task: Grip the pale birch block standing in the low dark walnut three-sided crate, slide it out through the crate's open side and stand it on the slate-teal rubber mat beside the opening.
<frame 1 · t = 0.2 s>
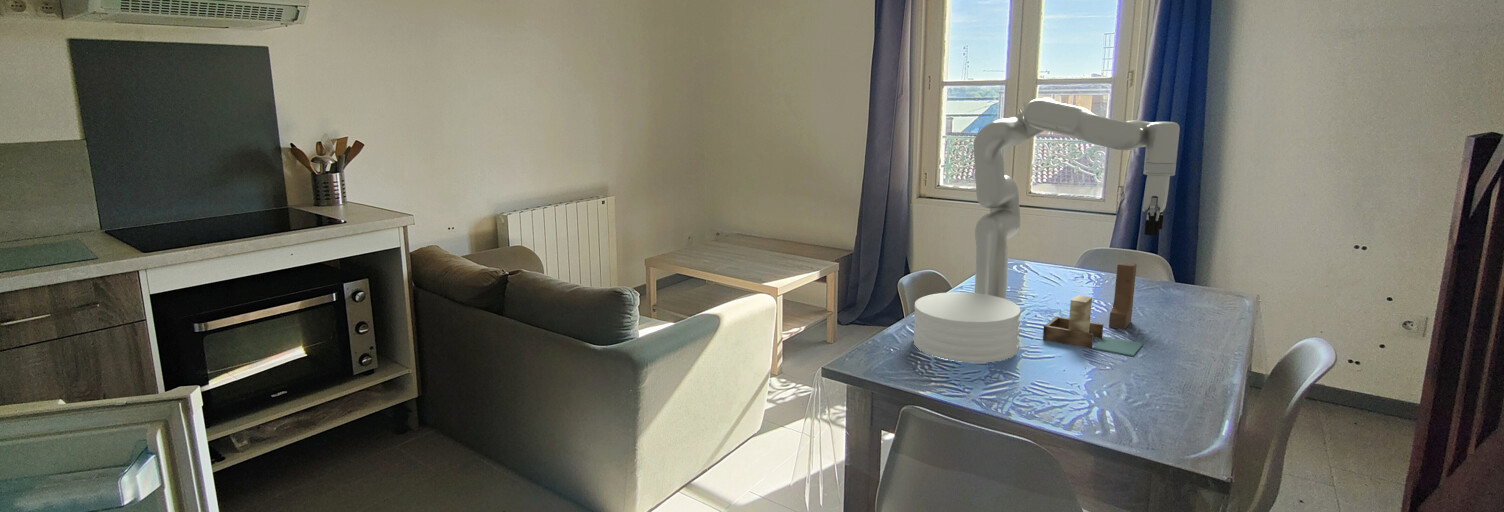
hand: (1153, 231, 211), 31 cm above the table, fingers open, 9 cm apart
mat: (1118, 346, 212), on the table
birch block: (1079, 319, 217), in the crate
plate stack: (964, 346, 216), on the table
crate: (1078, 339, 219), on the table
wooden block: (1119, 324, 231), on the table
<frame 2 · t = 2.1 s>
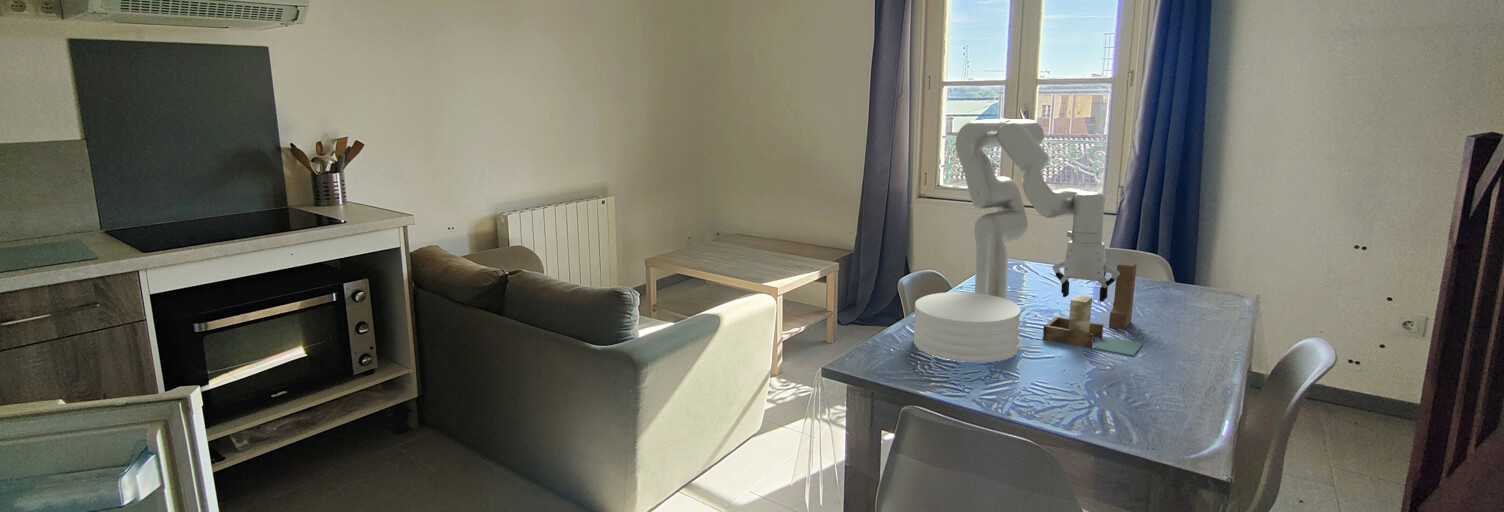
hand: (1083, 298, 215), 12 cm above the table, fingers open, 9 cm apart
nothing on the table moved.
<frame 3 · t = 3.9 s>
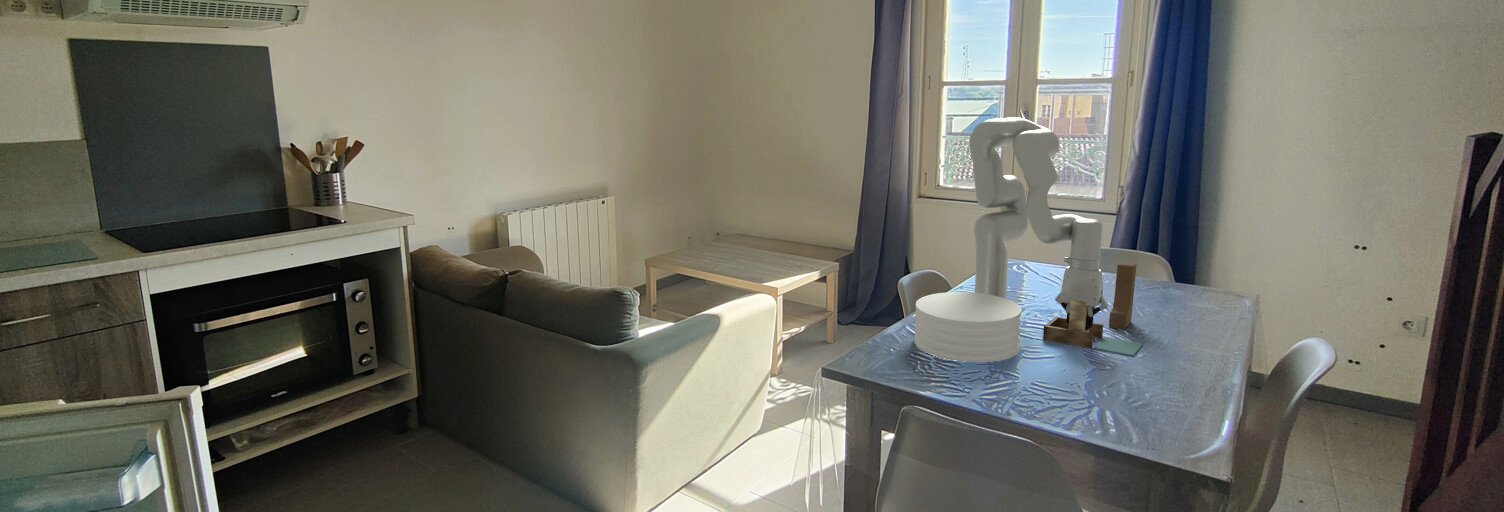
hand: (1079, 326, 218), 4 cm above the table, fingers closed on birch block, 4 cm apart
birch block: (1079, 319, 217), in the crate, touching gripper
everything else where it was.
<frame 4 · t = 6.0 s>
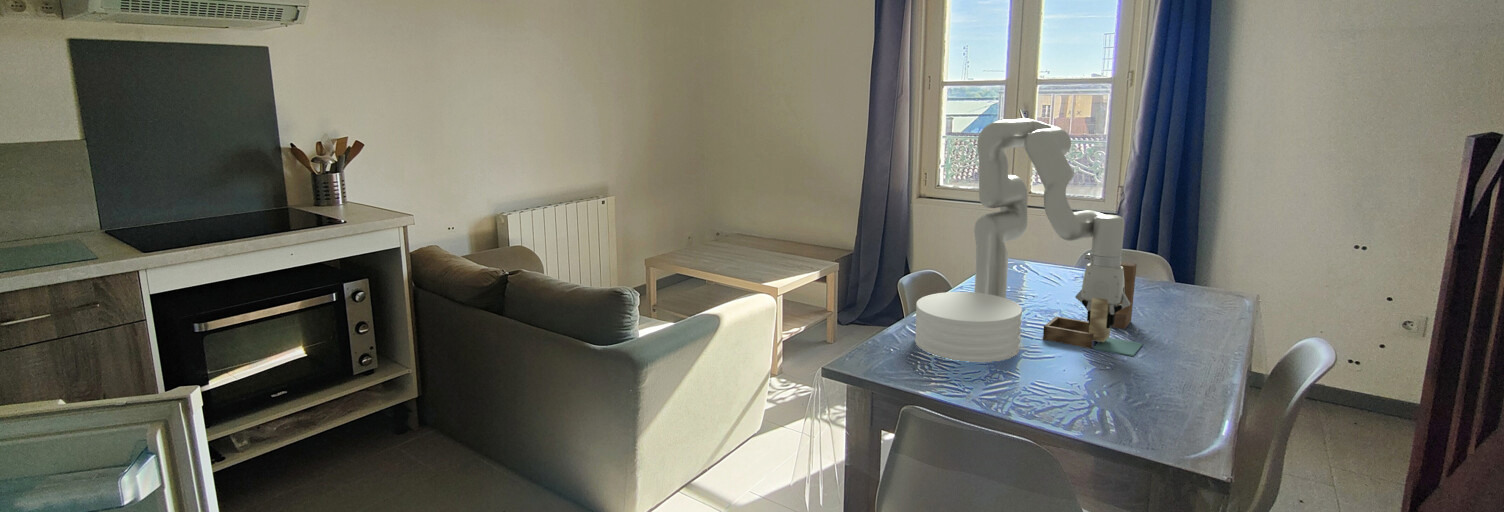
hand: (1100, 324, 214), 5 cm above the table, fingers closed on birch block, 4 cm apart
birch block: (1100, 317, 214), point 8 cm above the table, touching gripper
everything else where it was.
when the fingers open (5 cm above the table, at t = 8.2 s): birch block stays where it is, resting on mat.
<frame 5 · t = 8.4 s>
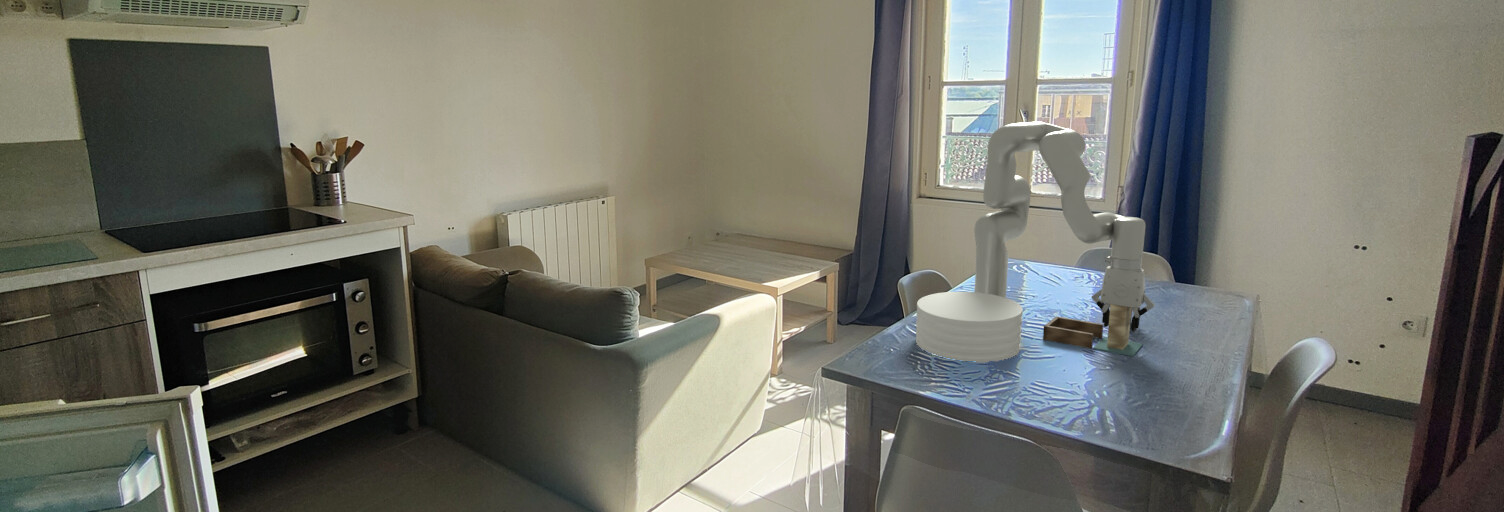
hand: (1119, 327, 211), 6 cm above the table, fingers open, 6 cm apart
birch block: (1119, 324, 211), on the mat
everything else where it was.
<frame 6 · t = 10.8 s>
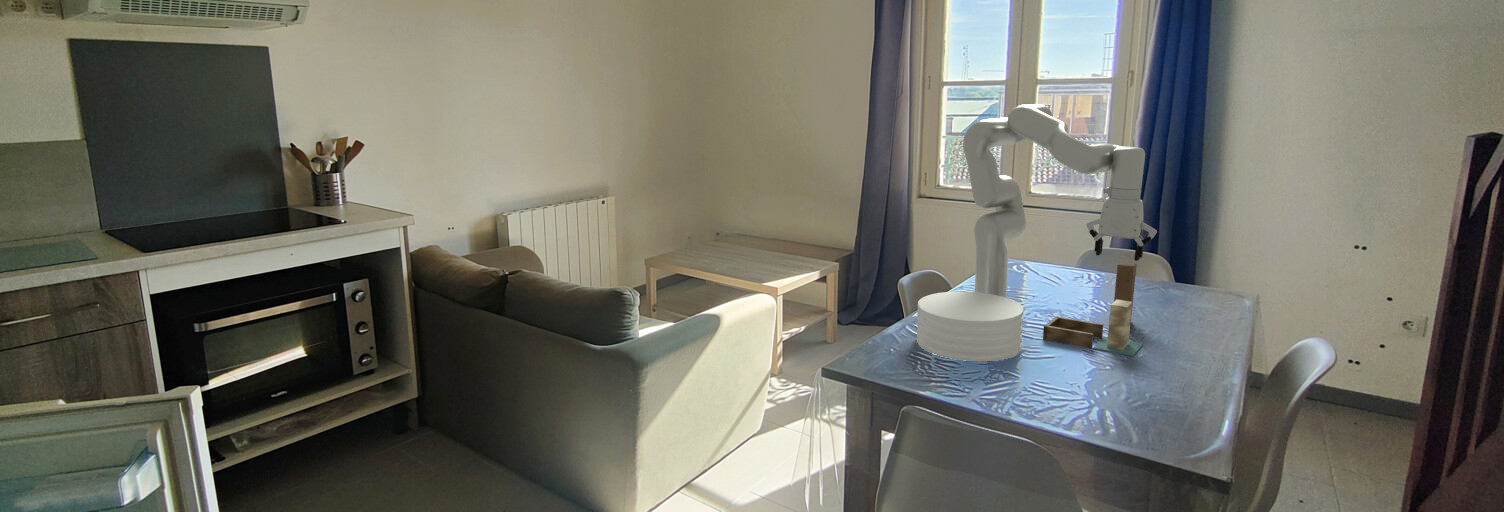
hand: (1117, 257, 209), 25 cm above the table, fingers open, 9 cm apart
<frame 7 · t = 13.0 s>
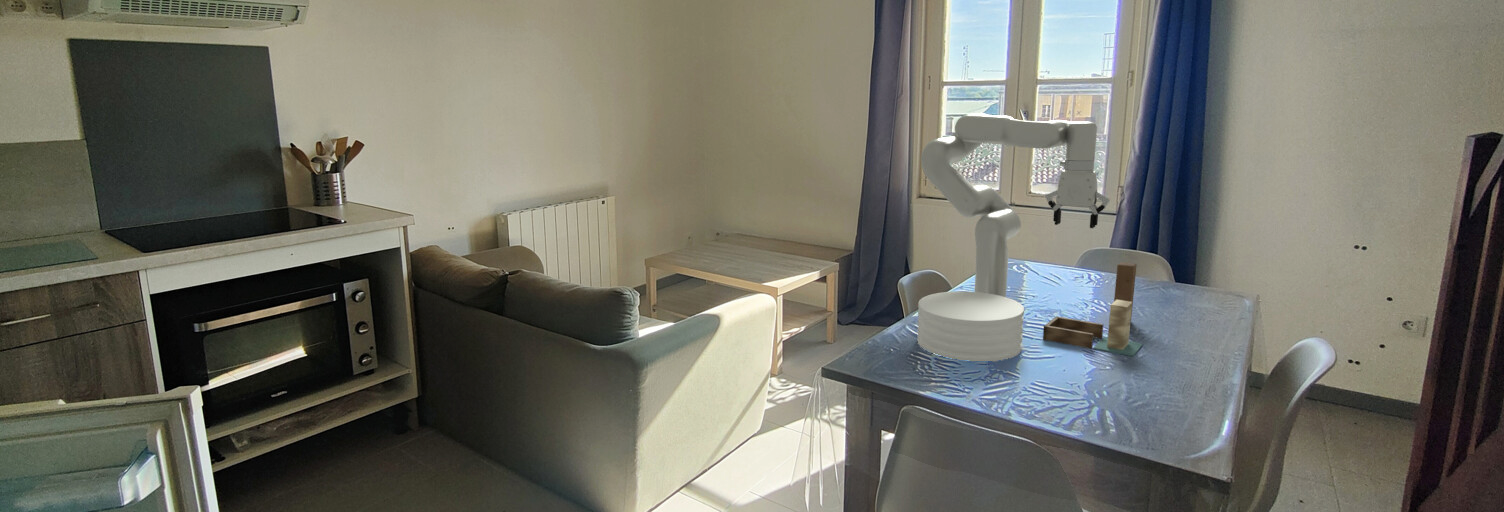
hand: (1074, 225, 223), 30 cm above the table, fingers open, 9 cm apart
at the end: birch block inside the target area (0.1 cm from its centre), resting on mat; birch block tilted 0°; the gripper is holding nothing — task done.
